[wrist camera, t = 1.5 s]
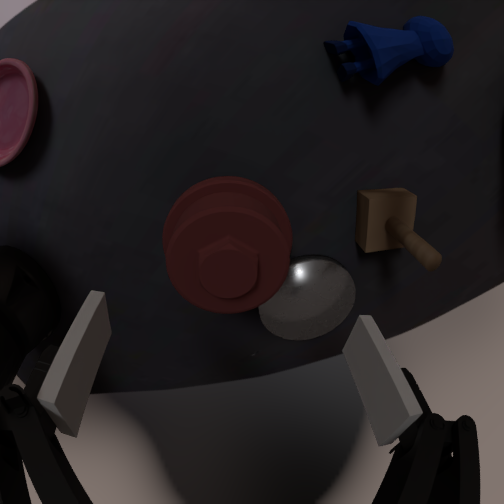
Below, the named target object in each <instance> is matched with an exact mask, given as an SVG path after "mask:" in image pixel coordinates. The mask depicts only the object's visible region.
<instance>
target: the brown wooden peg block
mask: <svg viewBox="0 0 504 504" xmlns="http://www.w3.org/2000/svg"><path fill="white" fill-rule="evenodd" d="M416 202H417V196H416V195H414V194H413V193H411V192H409V191H408V190H406V189H404V188H390V189H372V190H357V215H356V233H355V241H356V242H357V243H358V245H359V246H360V247H361V248H362V249H363V251H364V252H365V253H368V252H375V251H382V250H389V249H395V248H402V247H405V248H406V249H407V250H408V251H409V252H410V253H411V254H412V255H413V256H414V257H415V258H416V259H417V260H418V261H419V262H420V263H421V264H422V265H423V266H424V267H425V268H426V269H427V270H428V271H434V270H436V269H437V268H438V267H439V265H440V263H441V260H442V256H441V254H440V253H438V252H437V251H436V250H435V249H434V248H433V247H432V246H430V245H429V244H428V243H427V242H426V241H425V240H423V239H422V238H421V237H420V236H419V235H417V234H416V233H415V232H414V231H413V226H414V219H415V211H416Z"/></svg>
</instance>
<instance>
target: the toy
mask: <svg viewBox="0 0 504 504" xmlns="http://www.w3.org/2000/svg"><path fill="white" fill-rule="evenodd" d="M324 45H325V48H326V50H327V52H328V53H331V54H335V55H340V54H343V53H345V52H346V51H349V50H350V51H351V52H352V53H353V55H354V56H355V62H354V63H351V62H348V63H343V64H341V65H340V67H339V69H338V70H337V74H338V77H339V79H340V81H341V82H344V81H346V80H348V79H350V78H351V77H352V76H353V75H354V74H355V73H357V72H358V73H359V74H360V76H361V77H362V78H364V79H365V80H367V81H369V82H371V83H372V84H375V85H377V86H379V85H380V84H381V83H382V82H383V81H384V80H385V79H386V78H387V77H388V76H389V75H390V74H391V73H392V72H393V71H394V70H395V69H397V68H398V67H400V66H401V65H403V64H405V63H407V62H408V61H410V60H412V59H413V58H414V59H415V60H416V61H417V62H418V63H420V64H422V65H425V66H428V67H440V66H442V65H445V64H446V63H447V62H448V61H449V60H450V59H451V58H452V55H453V51H454V48H453V42H452V38H451V36H450V34H449V33H448V31H447V29H446V28H445V27H444V26H443V25H442V24H441V23H440V22H438V21H437V20H434V19H432V18H429V17H425V16H417V17H414V18H411V19H409V20H408V21H407V22H406V24H405V25H404V26H403V30H397V29H389V28H380V27H376V26H371V25H367V24H363V23H358V22H353V21H349V23H348V25H347V27H346V30H345V33H344V41H342V42H341V41H325V42H324Z"/></svg>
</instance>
